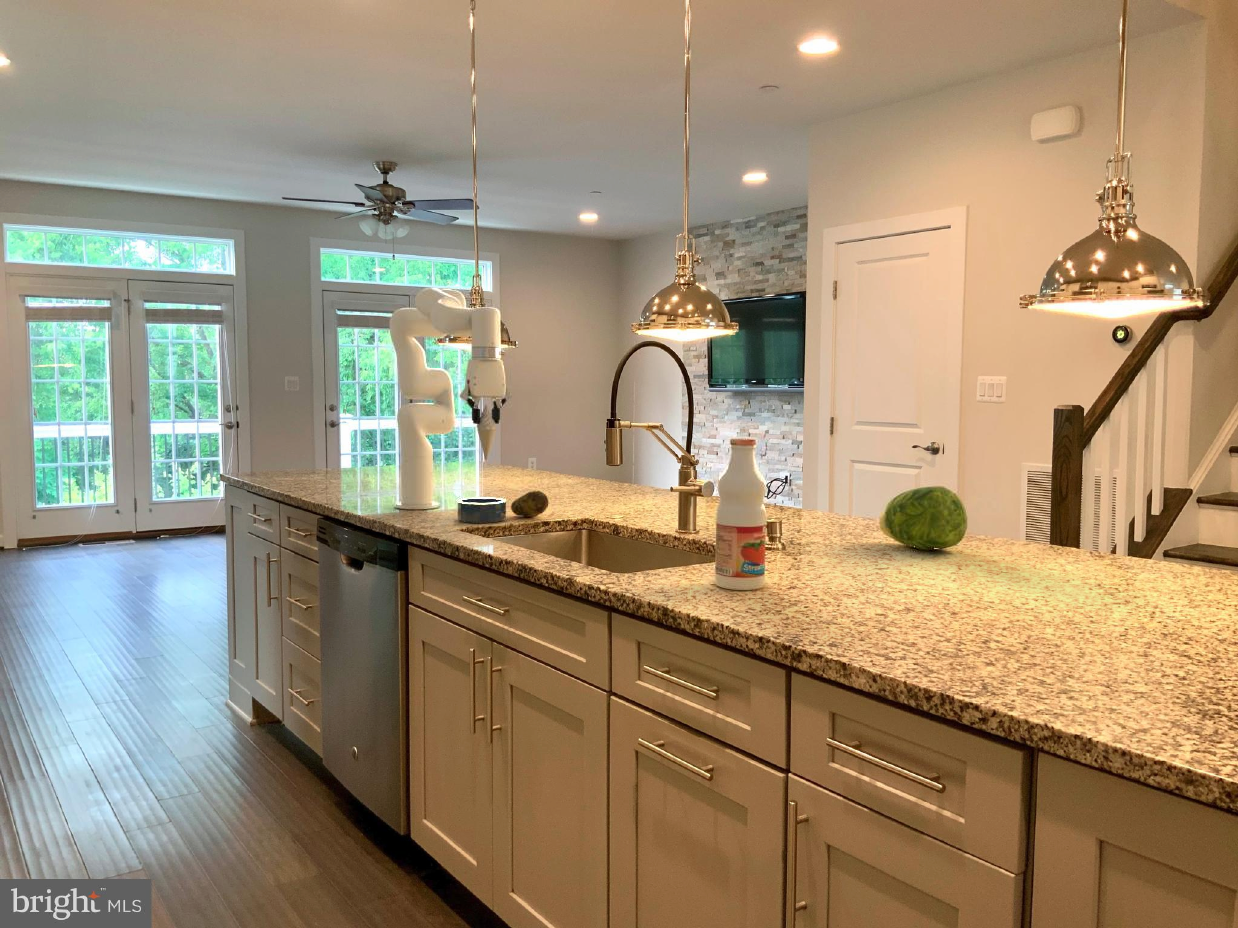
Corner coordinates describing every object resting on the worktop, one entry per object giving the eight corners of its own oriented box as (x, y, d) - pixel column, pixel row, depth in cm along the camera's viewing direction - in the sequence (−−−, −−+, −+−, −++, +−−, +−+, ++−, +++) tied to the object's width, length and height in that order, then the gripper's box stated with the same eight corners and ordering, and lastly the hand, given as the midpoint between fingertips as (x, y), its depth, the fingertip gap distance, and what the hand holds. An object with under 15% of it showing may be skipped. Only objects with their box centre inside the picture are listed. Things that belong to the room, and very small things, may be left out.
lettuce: (914, 550, 233) (894, 492, 234) (988, 534, 217) (966, 472, 218) (876, 566, 223) (856, 506, 224) (950, 551, 207) (928, 486, 208)
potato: (535, 514, 271) (535, 486, 270) (552, 520, 259) (552, 491, 258) (508, 515, 267) (508, 488, 266) (524, 521, 255) (524, 493, 255)
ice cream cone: (474, 458, 249) (475, 403, 248) (493, 458, 251) (493, 403, 249) (478, 460, 244) (479, 403, 243) (497, 460, 246) (498, 403, 245)
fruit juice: (725, 578, 183) (729, 437, 181) (771, 583, 179) (775, 438, 176) (706, 587, 175) (710, 439, 172) (754, 593, 170) (758, 441, 168)
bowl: (450, 518, 259) (450, 499, 259) (493, 515, 266) (493, 496, 266) (469, 525, 248) (469, 504, 248) (513, 521, 255) (513, 501, 255)
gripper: (508, 355, 253) (508, 422, 254) (450, 354, 244) (450, 423, 245) (521, 355, 246) (521, 423, 248) (461, 353, 237) (461, 424, 239)
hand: (486, 422), depth 247 cm, fingers closed on ice cream cone, 4 cm apart
